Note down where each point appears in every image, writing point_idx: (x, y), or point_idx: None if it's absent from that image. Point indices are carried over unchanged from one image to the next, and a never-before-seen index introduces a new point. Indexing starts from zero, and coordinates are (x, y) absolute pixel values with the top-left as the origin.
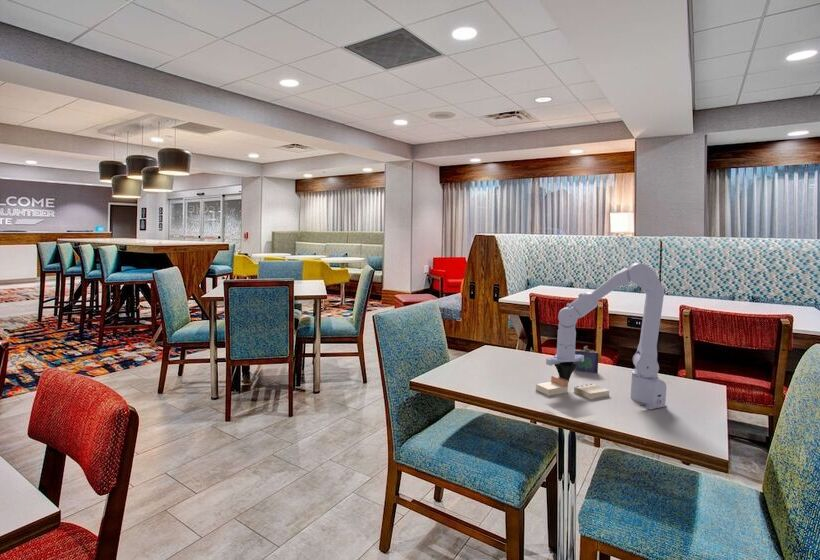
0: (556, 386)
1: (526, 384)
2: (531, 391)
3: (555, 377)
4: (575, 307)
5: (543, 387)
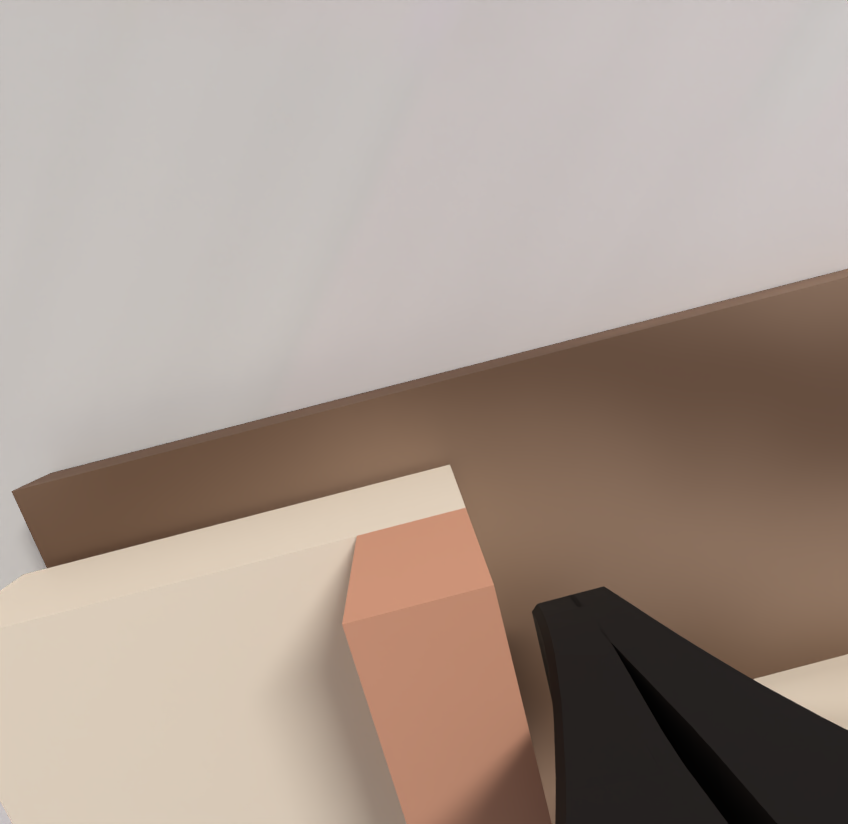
0: (320, 817)
1: (53, 40)
2: (28, 445)
3: (390, 772)
4: None
5: None
